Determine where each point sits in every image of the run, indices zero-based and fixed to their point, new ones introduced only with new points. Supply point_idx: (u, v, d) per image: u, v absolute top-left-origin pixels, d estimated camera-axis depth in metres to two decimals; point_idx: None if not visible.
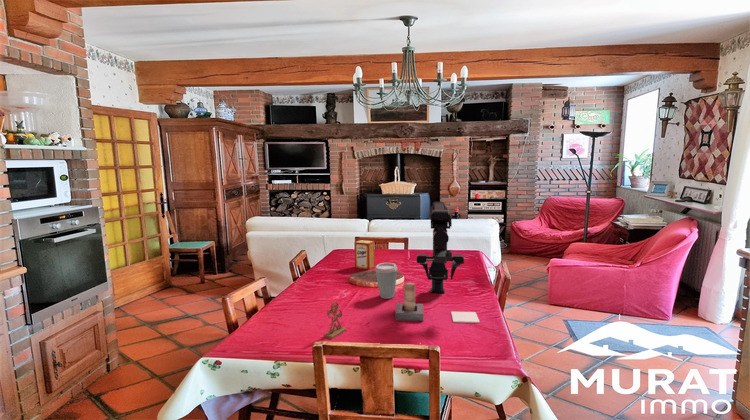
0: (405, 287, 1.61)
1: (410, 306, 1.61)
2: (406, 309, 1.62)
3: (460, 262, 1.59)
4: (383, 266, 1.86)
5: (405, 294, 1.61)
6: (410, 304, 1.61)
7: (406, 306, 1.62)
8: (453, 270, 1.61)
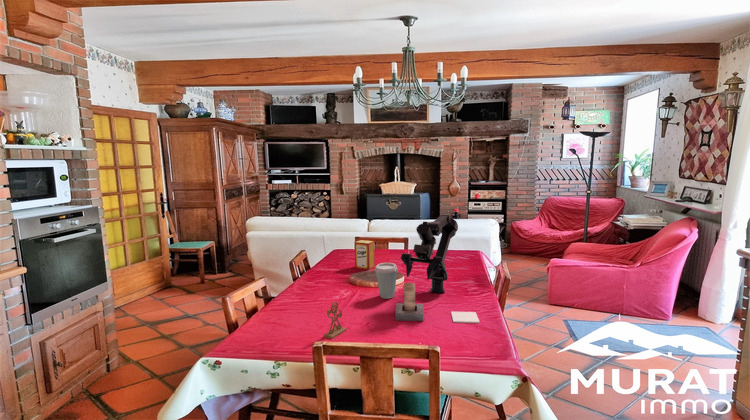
0: (405, 287, 1.61)
1: (410, 306, 1.61)
2: (406, 309, 1.62)
3: (438, 260, 1.67)
4: (383, 266, 1.86)
5: (405, 294, 1.61)
6: (410, 304, 1.61)
7: (406, 306, 1.62)
8: (431, 269, 1.68)
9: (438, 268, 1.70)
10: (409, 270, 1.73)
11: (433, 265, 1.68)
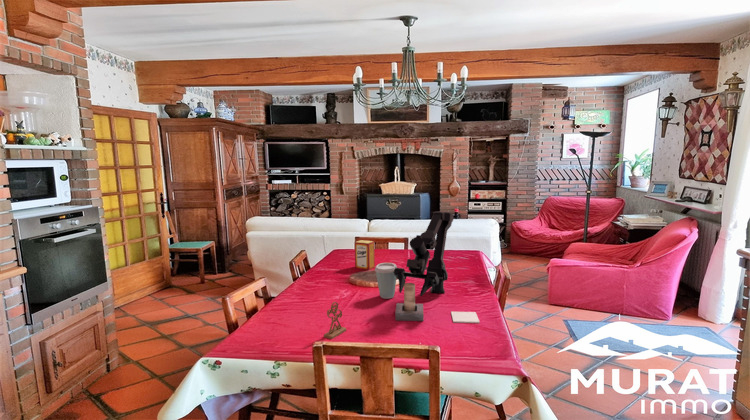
0: (405, 287, 1.61)
1: (410, 306, 1.61)
2: (406, 309, 1.62)
3: (431, 275, 1.61)
4: (383, 266, 1.86)
5: (405, 294, 1.61)
6: (410, 304, 1.61)
7: (406, 306, 1.62)
8: (424, 285, 1.62)
9: (432, 284, 1.64)
10: (402, 285, 1.67)
11: (426, 281, 1.62)
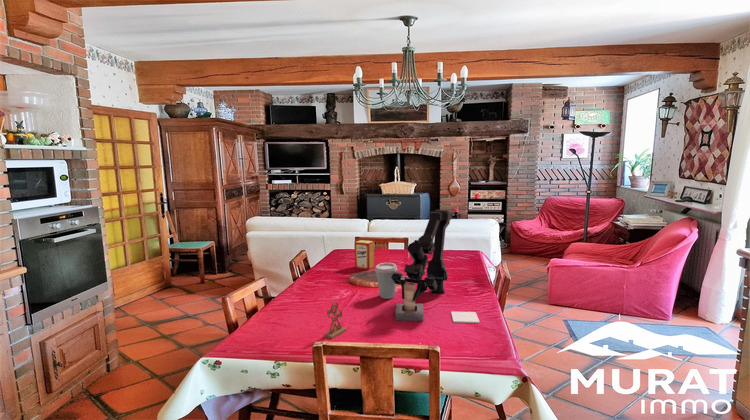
0: (405, 287, 1.61)
1: (410, 306, 1.61)
2: (406, 309, 1.62)
3: (429, 281, 1.60)
4: (383, 266, 1.86)
5: (405, 294, 1.61)
6: (410, 304, 1.61)
7: (406, 306, 1.62)
8: (417, 290, 1.61)
9: (425, 288, 1.64)
10: None
11: (419, 286, 1.61)
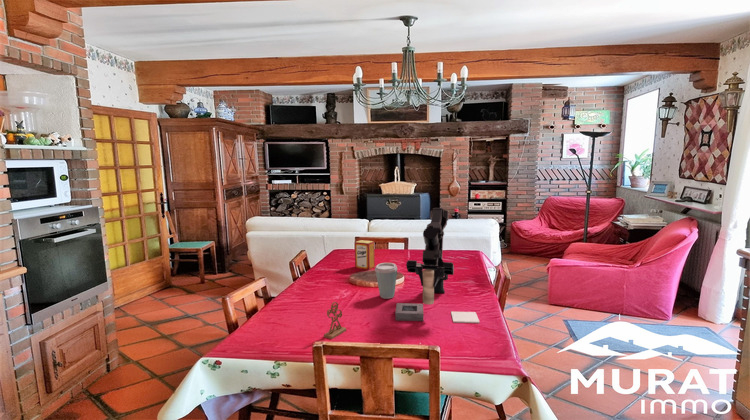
0: (425, 273, 1.57)
1: (431, 292, 1.58)
2: (426, 296, 1.58)
3: (449, 266, 1.58)
4: (383, 266, 1.86)
5: (425, 281, 1.57)
6: (431, 290, 1.57)
7: (426, 293, 1.58)
8: (436, 275, 1.59)
9: (442, 274, 1.61)
10: (422, 279, 1.61)
11: (438, 271, 1.59)
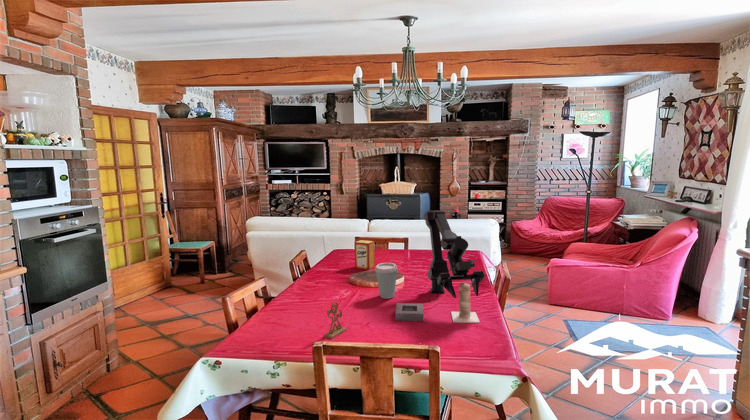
0: (464, 288, 1.57)
1: (469, 306, 1.58)
2: (465, 310, 1.58)
3: (482, 274, 1.62)
4: (383, 266, 1.86)
5: (464, 295, 1.57)
6: (469, 304, 1.58)
7: (465, 307, 1.58)
8: (477, 284, 1.61)
9: None
10: None
11: (478, 280, 1.61)
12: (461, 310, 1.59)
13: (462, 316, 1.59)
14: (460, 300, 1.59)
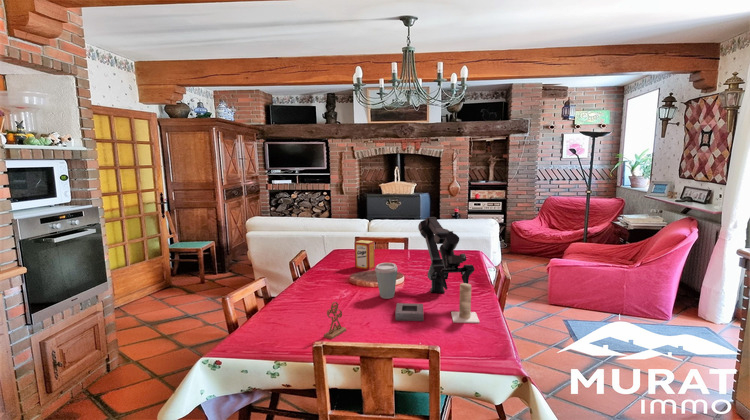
0: (465, 288, 1.57)
1: (469, 306, 1.58)
2: (466, 310, 1.58)
3: (472, 268, 1.72)
4: (383, 266, 1.86)
5: (464, 295, 1.57)
6: (470, 304, 1.58)
7: (466, 307, 1.58)
8: (467, 278, 1.70)
9: None
10: None
11: (468, 273, 1.71)
12: (461, 310, 1.59)
13: (462, 316, 1.59)
14: (461, 300, 1.59)
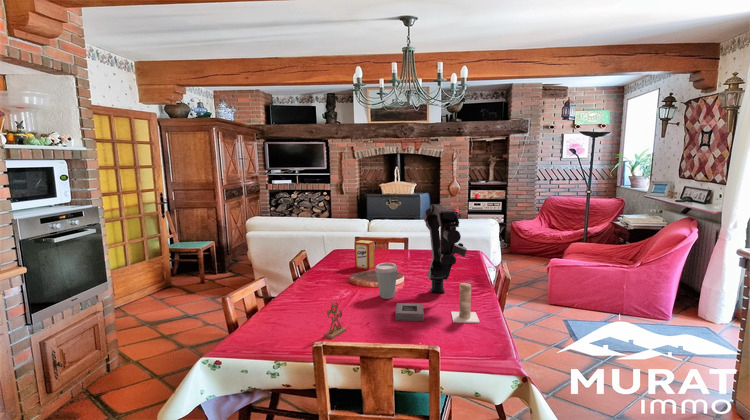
0: (465, 288, 1.57)
1: (469, 306, 1.59)
2: (466, 310, 1.58)
3: None
4: (383, 266, 1.86)
5: (464, 295, 1.57)
6: (470, 304, 1.58)
7: (466, 307, 1.58)
8: None
9: None
10: None
11: None
12: (461, 310, 1.59)
13: (462, 316, 1.59)
14: (461, 300, 1.59)
